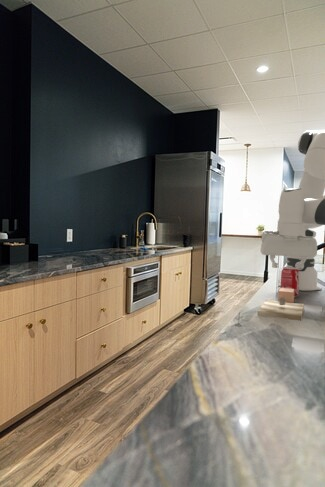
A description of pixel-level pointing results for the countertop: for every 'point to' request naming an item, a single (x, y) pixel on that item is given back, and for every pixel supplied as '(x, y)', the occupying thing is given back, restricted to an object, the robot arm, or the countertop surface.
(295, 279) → the soda can
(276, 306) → the pin plate
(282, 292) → the block
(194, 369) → the countertop surface
